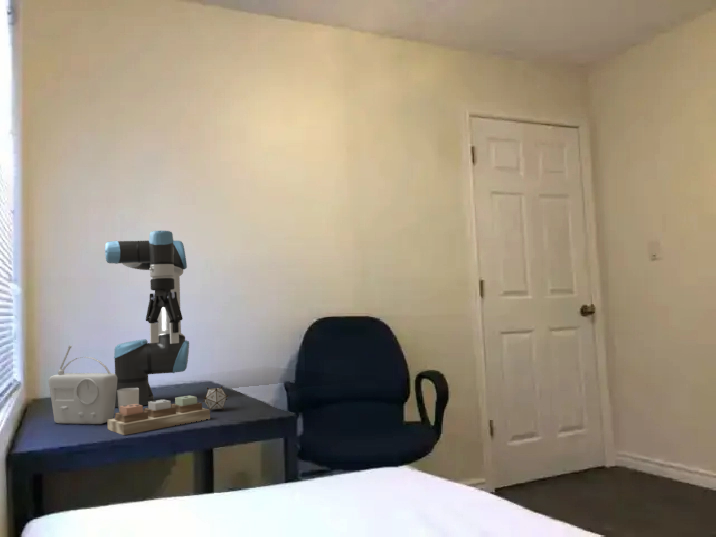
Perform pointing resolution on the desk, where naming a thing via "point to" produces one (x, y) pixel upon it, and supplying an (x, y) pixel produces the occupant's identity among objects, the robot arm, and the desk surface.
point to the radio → (83, 396)
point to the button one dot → (185, 400)
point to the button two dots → (159, 404)
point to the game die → (215, 398)
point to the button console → (157, 418)
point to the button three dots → (131, 409)
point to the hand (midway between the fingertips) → (164, 343)
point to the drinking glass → (128, 396)
